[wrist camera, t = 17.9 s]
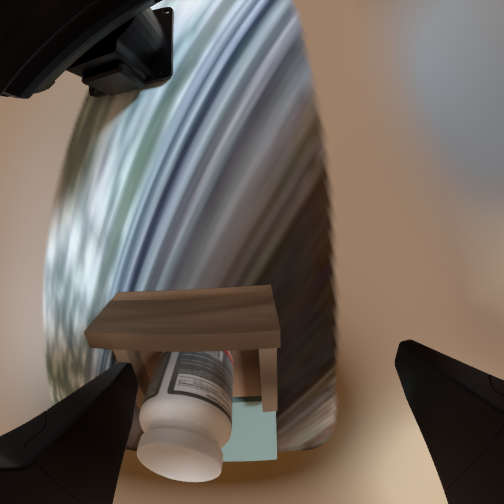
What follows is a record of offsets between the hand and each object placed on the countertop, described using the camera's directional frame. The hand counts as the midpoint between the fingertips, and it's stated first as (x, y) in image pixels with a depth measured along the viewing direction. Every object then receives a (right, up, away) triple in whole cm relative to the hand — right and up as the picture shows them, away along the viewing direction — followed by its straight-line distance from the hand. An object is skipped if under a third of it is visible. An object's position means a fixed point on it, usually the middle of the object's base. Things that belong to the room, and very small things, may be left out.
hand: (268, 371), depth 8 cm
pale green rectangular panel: (-4, -10, +15) cm, 18 cm away
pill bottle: (-5, -5, +13) cm, 14 cm away
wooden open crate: (-5, -4, +14) cm, 15 cm away
